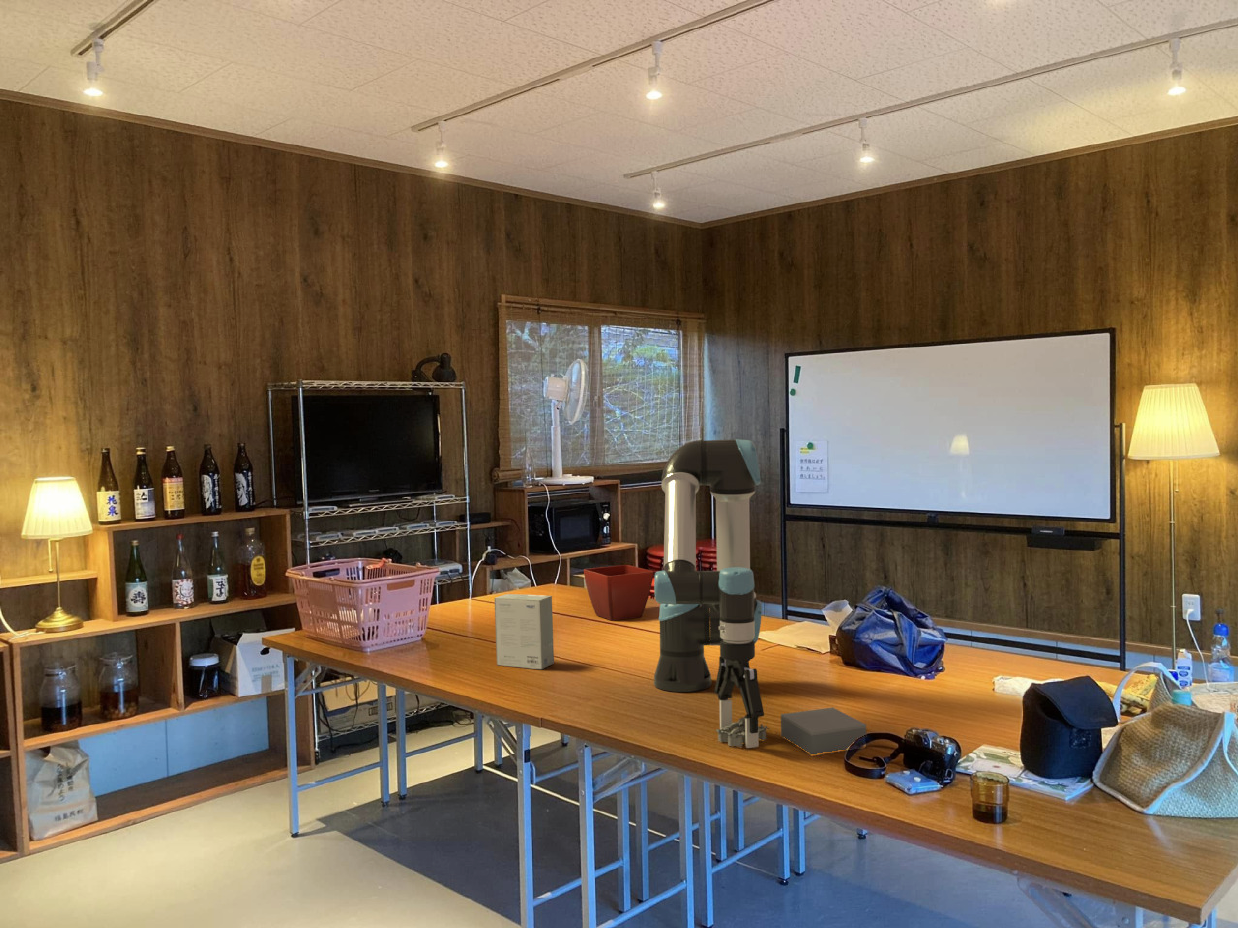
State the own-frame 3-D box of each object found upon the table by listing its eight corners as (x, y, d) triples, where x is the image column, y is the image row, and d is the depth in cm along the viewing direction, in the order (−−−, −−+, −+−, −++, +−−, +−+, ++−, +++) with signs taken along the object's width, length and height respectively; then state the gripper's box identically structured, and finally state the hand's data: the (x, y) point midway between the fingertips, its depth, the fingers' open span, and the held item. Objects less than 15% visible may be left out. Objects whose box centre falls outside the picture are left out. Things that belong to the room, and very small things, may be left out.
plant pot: (655, 617, 334) (654, 570, 333) (609, 624, 324) (608, 576, 324) (628, 609, 351) (627, 564, 350) (583, 615, 341) (582, 569, 340)
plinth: (781, 736, 204) (780, 714, 204) (833, 729, 209) (832, 707, 208) (811, 756, 192) (811, 732, 192) (866, 748, 196) (866, 724, 196)
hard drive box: (555, 663, 272) (553, 595, 271) (542, 670, 265) (540, 600, 264) (509, 659, 278) (507, 592, 277) (495, 665, 271) (493, 597, 270)
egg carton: (751, 732, 209) (751, 713, 209) (772, 741, 202) (772, 722, 202) (712, 740, 204) (712, 722, 204) (733, 750, 197) (732, 731, 197)
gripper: (698, 629, 213) (700, 723, 214) (746, 653, 190) (748, 758, 191) (728, 627, 216) (730, 719, 217) (779, 650, 193) (781, 753, 194)
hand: (738, 737), depth 204 cm, fingers open, 12 cm apart
